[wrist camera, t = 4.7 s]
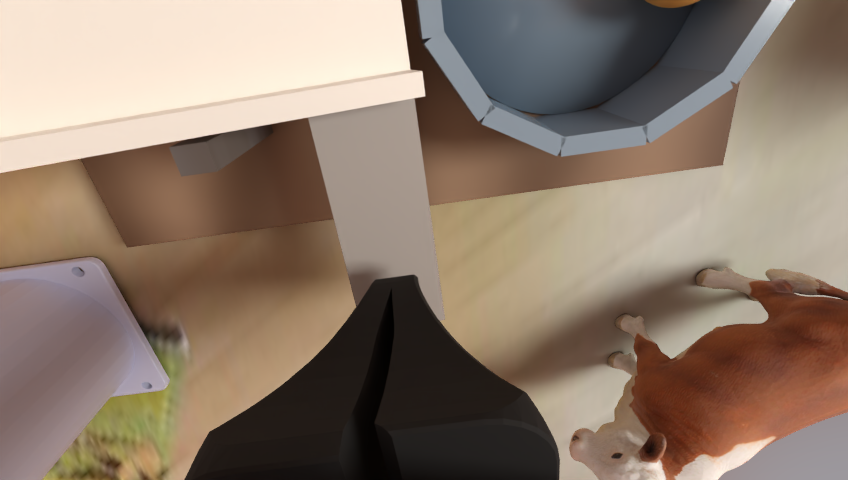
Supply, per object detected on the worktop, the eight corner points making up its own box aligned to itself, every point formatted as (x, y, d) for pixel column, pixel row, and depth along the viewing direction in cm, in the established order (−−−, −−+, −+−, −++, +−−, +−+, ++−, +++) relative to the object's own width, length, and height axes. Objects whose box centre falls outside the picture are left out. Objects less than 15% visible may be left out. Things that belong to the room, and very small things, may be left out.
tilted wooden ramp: (107, 383, 14) (64, 458, 12) (-198, -79, 8) (-425, -141, 6) (430, 294, 17) (456, 339, 14) (368, -121, 11) (391, -177, 8)
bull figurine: (523, 342, 22) (582, 497, 14) (785, 227, 19) (1019, 344, 12) (553, 393, 23) (619, 554, 16) (797, 293, 21) (1006, 431, 14)
